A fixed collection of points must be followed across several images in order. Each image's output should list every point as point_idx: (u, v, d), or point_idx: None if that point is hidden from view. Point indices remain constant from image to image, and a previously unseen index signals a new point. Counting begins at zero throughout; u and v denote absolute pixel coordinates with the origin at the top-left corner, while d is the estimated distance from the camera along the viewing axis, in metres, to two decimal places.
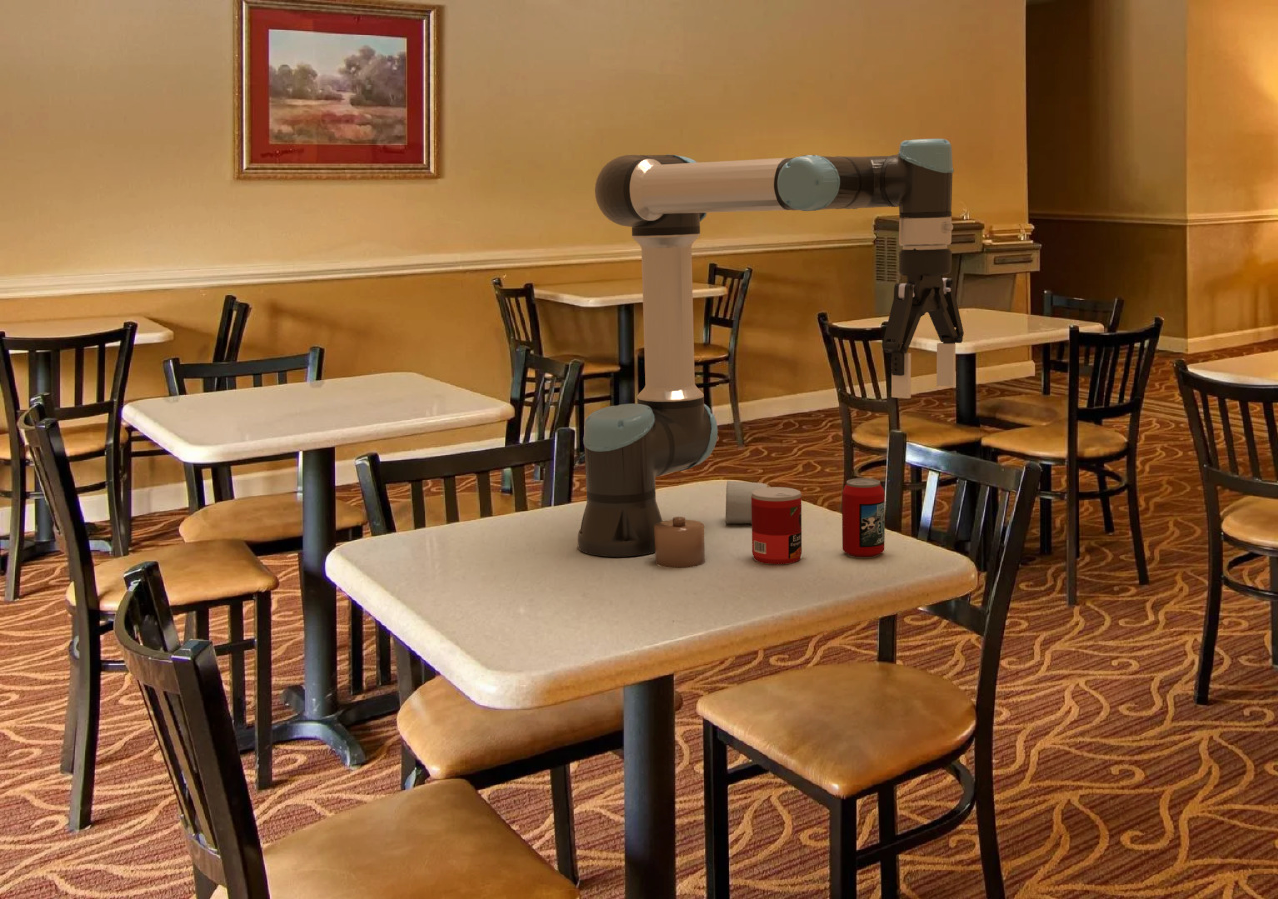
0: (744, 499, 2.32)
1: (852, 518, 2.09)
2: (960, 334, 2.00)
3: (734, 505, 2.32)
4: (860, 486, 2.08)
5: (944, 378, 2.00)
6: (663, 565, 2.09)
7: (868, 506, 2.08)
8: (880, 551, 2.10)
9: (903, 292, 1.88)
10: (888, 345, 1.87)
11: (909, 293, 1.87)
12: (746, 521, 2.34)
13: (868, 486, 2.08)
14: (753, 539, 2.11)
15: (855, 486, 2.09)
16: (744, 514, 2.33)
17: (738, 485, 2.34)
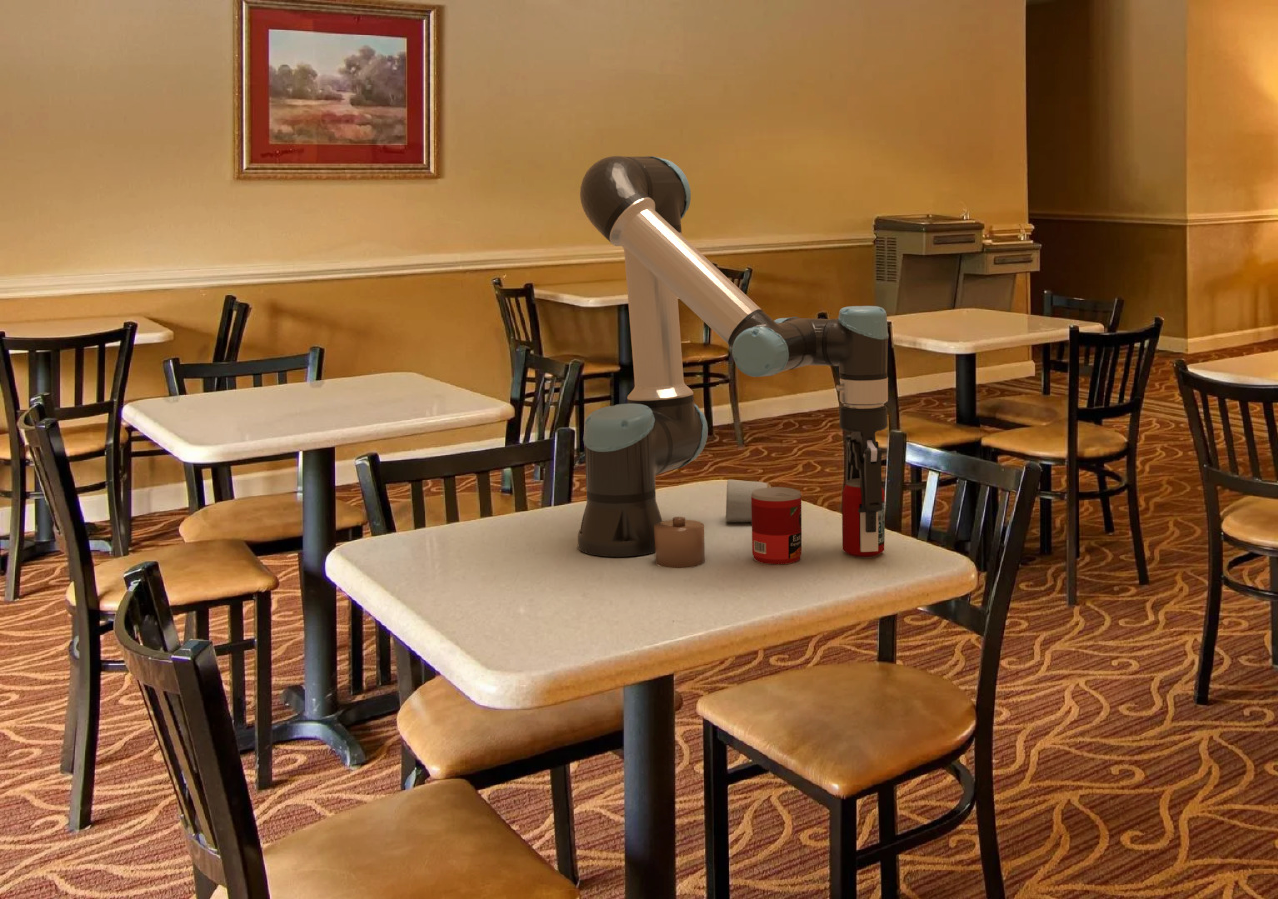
0: (744, 497, 2.33)
1: (852, 518, 2.09)
2: (865, 506, 2.05)
3: (734, 504, 2.33)
4: None
5: None
6: (663, 565, 2.09)
7: None
8: (880, 551, 2.10)
9: None
10: None
11: (846, 443, 2.16)
12: (746, 520, 2.35)
13: None
14: (753, 539, 2.11)
15: (855, 486, 2.09)
16: (744, 513, 2.34)
17: (739, 484, 2.35)
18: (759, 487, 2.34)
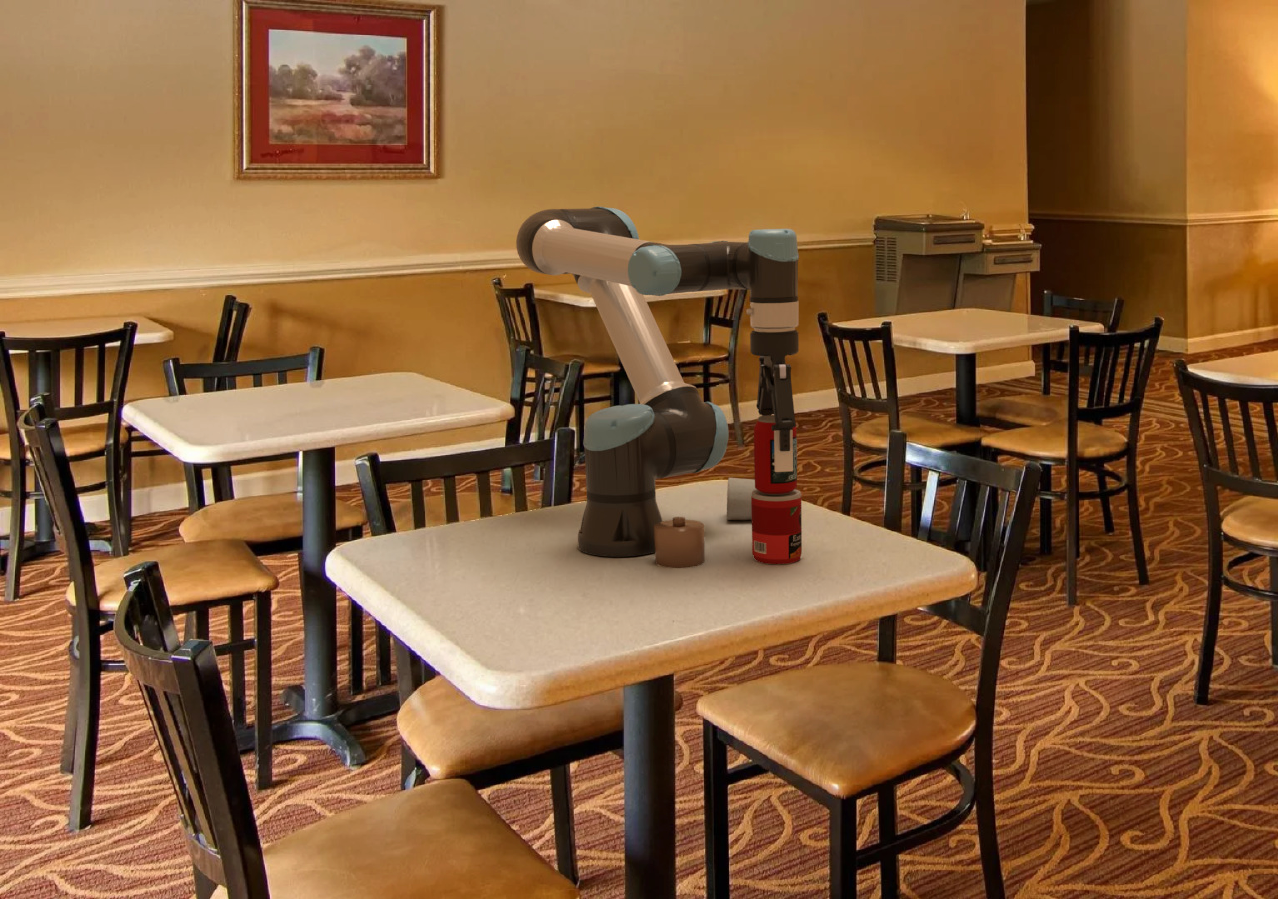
0: (745, 495, 2.35)
1: (763, 454, 2.06)
2: (778, 424, 1.99)
3: (735, 502, 2.35)
4: (771, 421, 2.05)
5: None
6: (663, 565, 2.09)
7: None
8: (792, 488, 2.07)
9: None
10: None
11: None
12: (747, 518, 2.36)
13: None
14: (753, 539, 2.10)
15: (766, 421, 2.06)
16: (745, 511, 2.35)
17: (739, 482, 2.36)
18: None
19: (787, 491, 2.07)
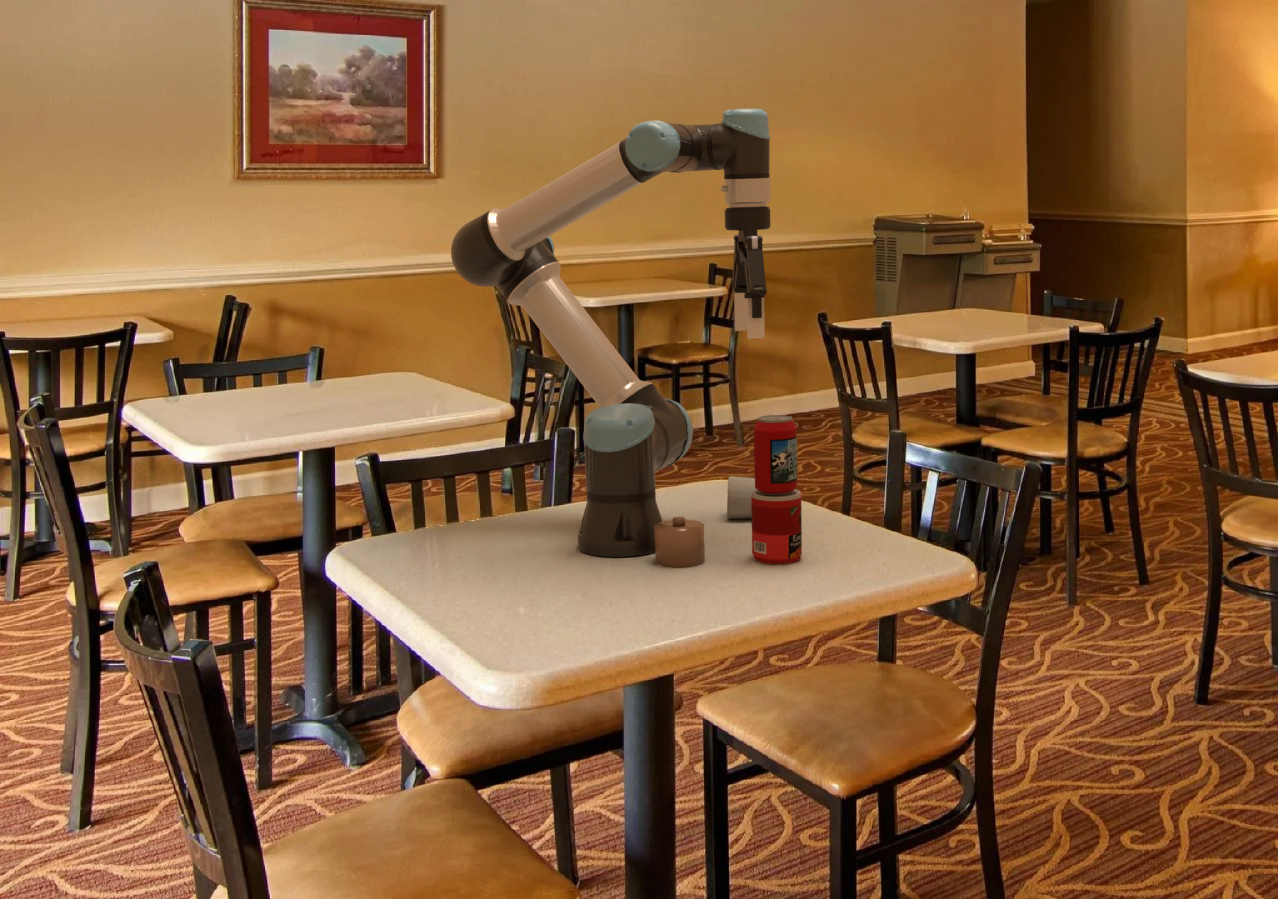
0: (745, 494, 2.36)
1: (763, 454, 2.06)
2: (750, 291, 2.10)
3: (735, 500, 2.36)
4: (771, 421, 2.05)
5: None
6: (663, 565, 2.09)
7: (779, 441, 2.05)
8: (792, 488, 2.07)
9: None
10: None
11: (734, 242, 2.24)
12: (747, 516, 2.38)
13: (779, 421, 2.05)
14: (753, 539, 2.11)
15: (766, 421, 2.06)
16: (745, 509, 2.36)
17: (740, 480, 2.37)
18: None
19: (787, 491, 2.07)
